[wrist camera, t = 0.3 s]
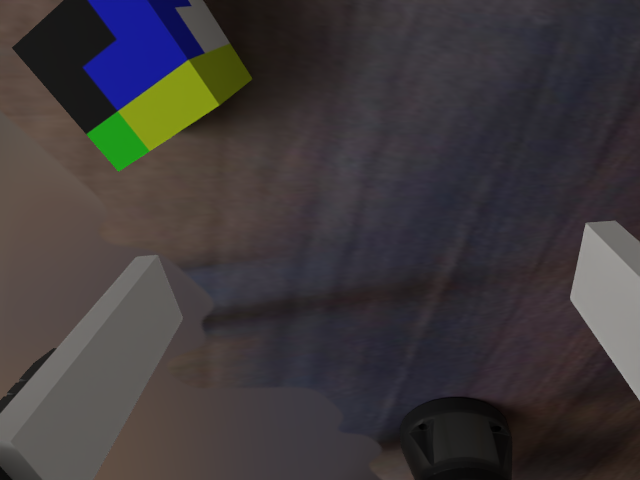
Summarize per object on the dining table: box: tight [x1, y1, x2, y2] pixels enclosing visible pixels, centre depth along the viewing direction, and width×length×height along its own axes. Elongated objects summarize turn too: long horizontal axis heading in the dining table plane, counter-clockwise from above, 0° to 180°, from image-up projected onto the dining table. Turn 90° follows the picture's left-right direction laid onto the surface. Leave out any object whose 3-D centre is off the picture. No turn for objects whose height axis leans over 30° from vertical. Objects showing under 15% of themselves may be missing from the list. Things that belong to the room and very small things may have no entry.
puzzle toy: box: [12, 0, 252, 172], centre depth 32 cm, size 10×10×10 cm
